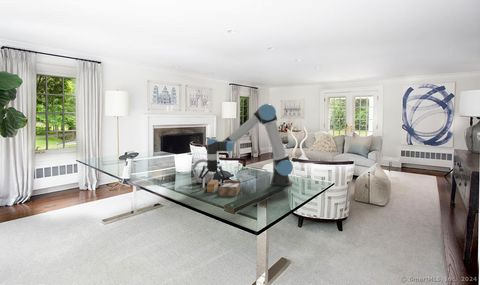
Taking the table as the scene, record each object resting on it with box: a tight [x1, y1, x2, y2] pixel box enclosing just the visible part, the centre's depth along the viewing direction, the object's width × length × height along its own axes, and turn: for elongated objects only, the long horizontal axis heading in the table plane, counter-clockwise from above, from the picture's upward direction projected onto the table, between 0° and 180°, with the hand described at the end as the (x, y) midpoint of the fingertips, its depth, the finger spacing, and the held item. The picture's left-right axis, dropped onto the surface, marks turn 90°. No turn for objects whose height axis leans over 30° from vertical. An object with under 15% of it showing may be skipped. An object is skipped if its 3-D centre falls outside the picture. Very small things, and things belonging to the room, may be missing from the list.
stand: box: [218, 179, 241, 197], centre depth 191 cm, size 12×20×6 cm, turn 171°
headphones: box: [192, 158, 216, 184], centre depth 216 cm, size 18×10×20 cm, turn 79°
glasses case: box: [206, 179, 219, 193], centre depth 197 cm, size 5×14×6 cm, turn 172°
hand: (212, 187), depth 197 cm, fingers open, 13 cm apart
